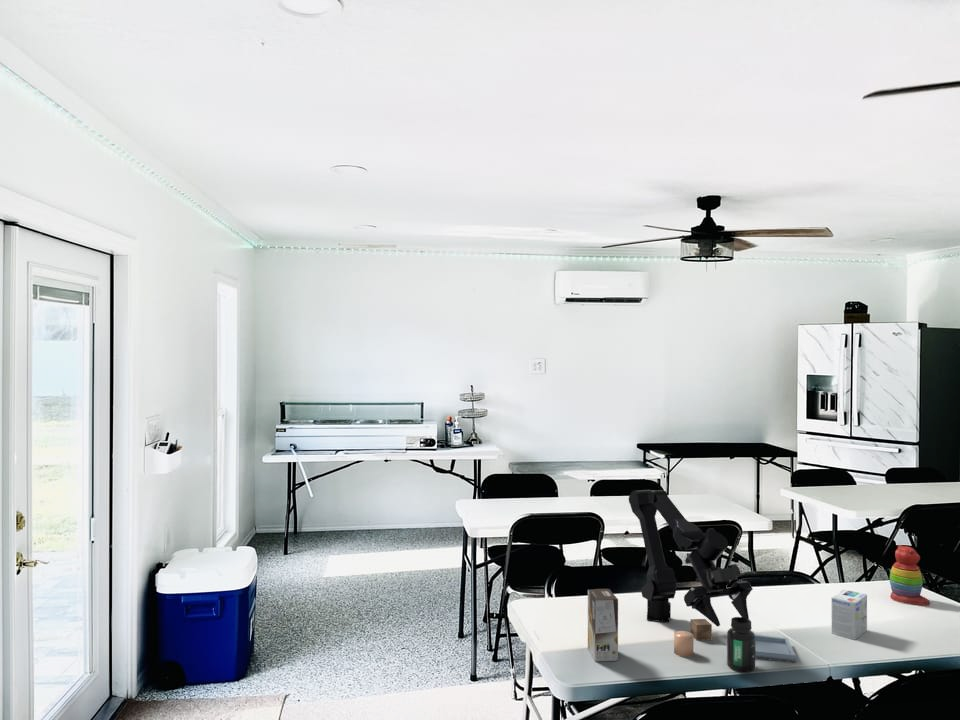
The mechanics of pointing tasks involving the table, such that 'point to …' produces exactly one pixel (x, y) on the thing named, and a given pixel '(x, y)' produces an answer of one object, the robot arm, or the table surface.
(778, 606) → the table surface
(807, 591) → the table surface
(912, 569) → the stacking bear
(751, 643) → the supplement bottle
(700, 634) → the walnut block
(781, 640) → the tray
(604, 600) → the coffee box
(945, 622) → the table surface
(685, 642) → the cylinder block
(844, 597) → the light bulb box
